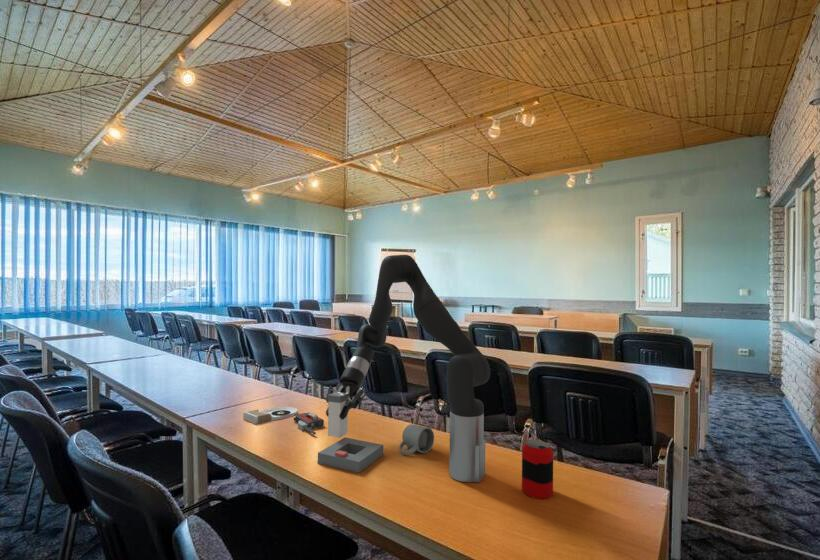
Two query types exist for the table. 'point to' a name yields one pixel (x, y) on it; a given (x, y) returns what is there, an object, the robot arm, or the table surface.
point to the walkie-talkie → (308, 422)
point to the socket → (355, 461)
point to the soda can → (537, 469)
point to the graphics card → (269, 414)
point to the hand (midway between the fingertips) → (334, 417)
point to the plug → (337, 415)
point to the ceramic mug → (417, 439)
